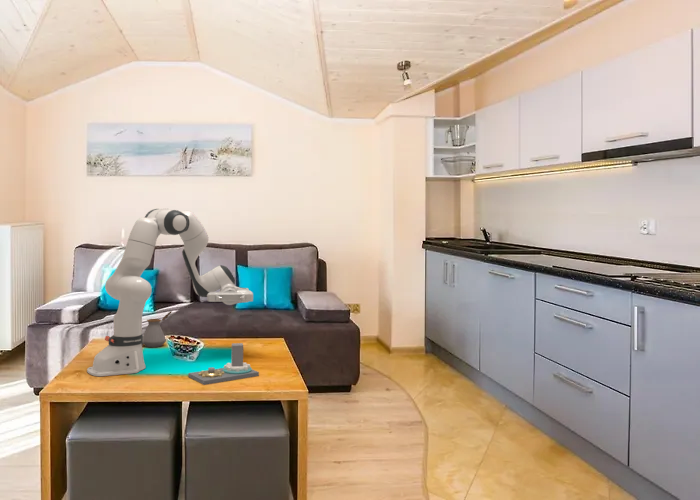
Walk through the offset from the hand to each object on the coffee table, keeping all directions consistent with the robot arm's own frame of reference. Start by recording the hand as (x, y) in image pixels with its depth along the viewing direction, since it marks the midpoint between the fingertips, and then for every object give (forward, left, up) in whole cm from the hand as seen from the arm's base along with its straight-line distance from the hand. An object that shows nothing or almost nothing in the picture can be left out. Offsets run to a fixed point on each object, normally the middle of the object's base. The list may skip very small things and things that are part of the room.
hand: (231, 299), depth 268 cm
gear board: (-14, -20, -28) cm, 37 cm away
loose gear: (-8, -20, -26) cm, 34 cm away
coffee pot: (-11, +53, -28) cm, 61 cm away
